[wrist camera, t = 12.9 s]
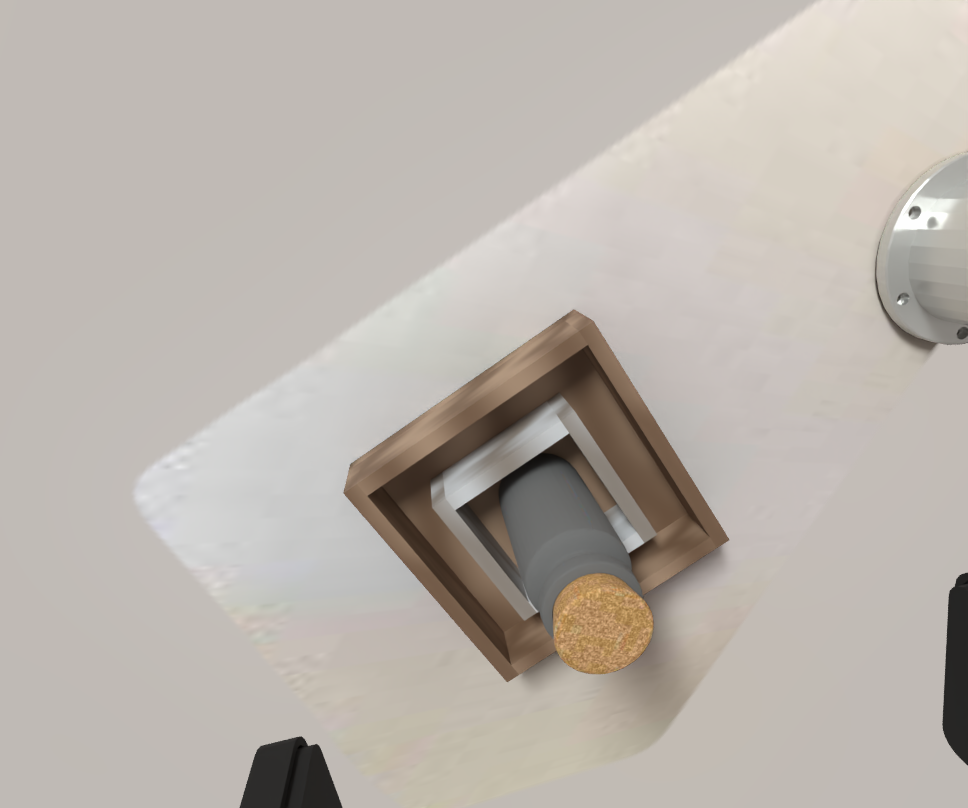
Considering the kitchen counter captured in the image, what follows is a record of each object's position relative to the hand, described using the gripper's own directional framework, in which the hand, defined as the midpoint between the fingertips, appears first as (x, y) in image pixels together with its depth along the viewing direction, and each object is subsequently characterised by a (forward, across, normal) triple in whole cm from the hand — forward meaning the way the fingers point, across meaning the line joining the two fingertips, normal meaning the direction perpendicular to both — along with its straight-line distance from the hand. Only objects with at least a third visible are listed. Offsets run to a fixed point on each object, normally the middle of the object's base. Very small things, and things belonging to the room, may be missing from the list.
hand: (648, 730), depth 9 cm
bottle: (+31, -2, +12) cm, 34 cm away
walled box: (+32, -2, +12) cm, 34 cm away
